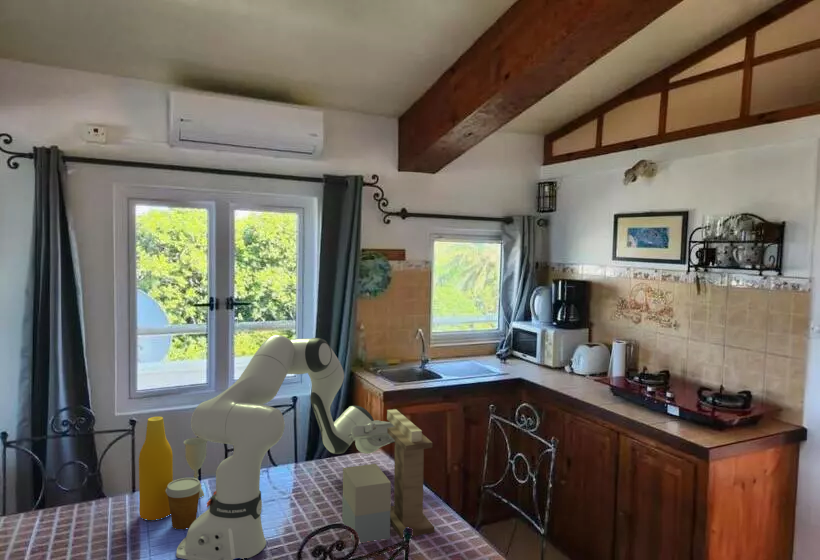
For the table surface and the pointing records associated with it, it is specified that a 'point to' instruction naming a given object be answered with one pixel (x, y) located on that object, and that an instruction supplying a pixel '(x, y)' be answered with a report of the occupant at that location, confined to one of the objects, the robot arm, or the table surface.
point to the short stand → (409, 485)
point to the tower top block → (366, 489)
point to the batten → (404, 425)
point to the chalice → (195, 455)
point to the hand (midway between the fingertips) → (387, 424)
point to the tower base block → (367, 523)
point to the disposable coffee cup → (183, 501)
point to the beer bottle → (155, 471)
